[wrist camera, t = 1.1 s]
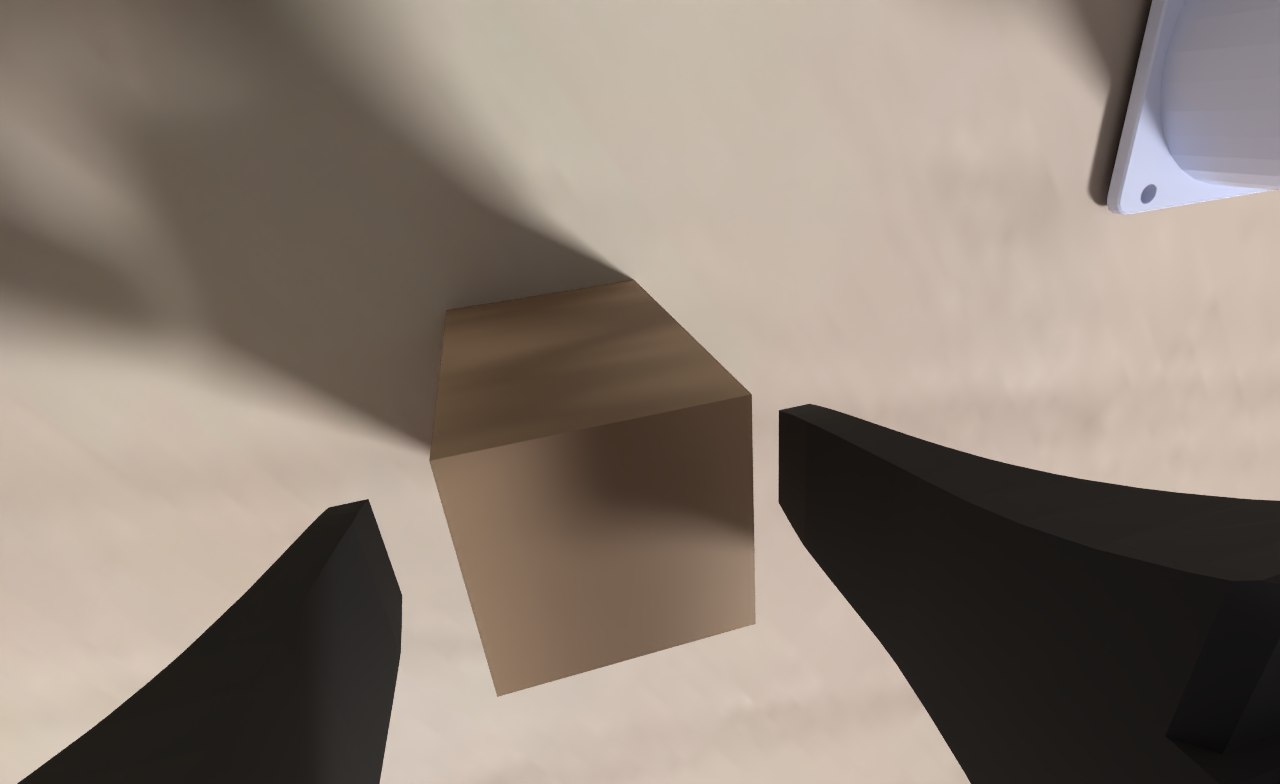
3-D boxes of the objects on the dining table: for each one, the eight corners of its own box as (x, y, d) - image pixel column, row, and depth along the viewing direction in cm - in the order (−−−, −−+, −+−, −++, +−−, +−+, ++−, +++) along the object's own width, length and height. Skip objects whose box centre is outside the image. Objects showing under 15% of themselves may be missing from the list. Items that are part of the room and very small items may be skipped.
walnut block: (634, 279, 15) (752, 394, 9) (650, 438, 17) (755, 623, 11) (446, 310, 14) (429, 460, 8) (486, 473, 16) (497, 696, 10)
